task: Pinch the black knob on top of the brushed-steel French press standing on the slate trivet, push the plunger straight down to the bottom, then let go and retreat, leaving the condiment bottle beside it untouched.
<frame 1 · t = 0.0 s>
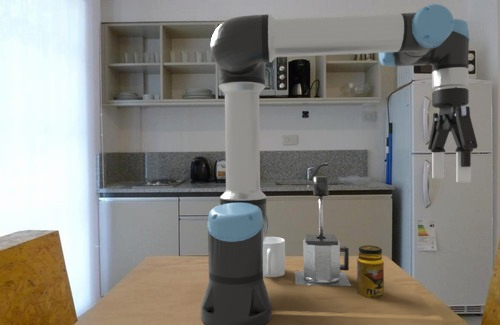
hand: (449, 180, 87), 28 cm above the table, fingers open, 13 cm apart
carafe: (321, 278, 100), resting on trivet
condiment: (366, 297, 89), on the table
trivet: (321, 280, 100), on the table
plunger: (320, 211, 99), point 19 cm above the table, slide at 0.0 cm
cup: (270, 278, 103), on the table
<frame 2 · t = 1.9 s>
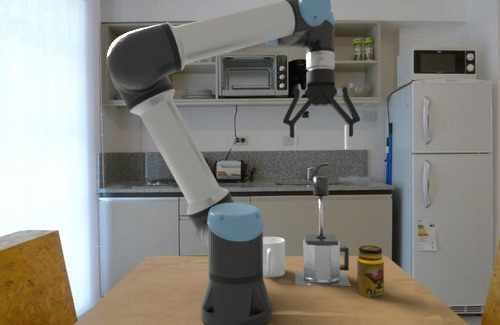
hand: (321, 149, 99), 36 cm above the table, fingers open, 13 cm apart
nothing on the table moved.
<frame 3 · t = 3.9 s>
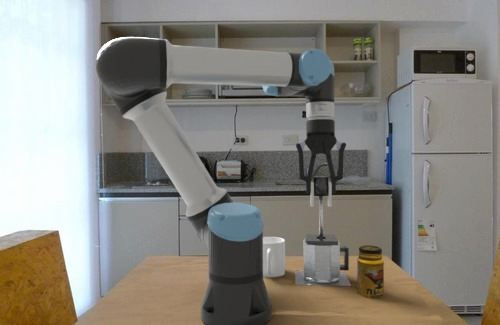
hand: (320, 205, 99), 20 cm above the table, fingers closed on plunger, 4 cm apart
plunger: (320, 211, 99), point 19 cm above the table, slide at 0.0 cm, touching gripper
everything else where it was.
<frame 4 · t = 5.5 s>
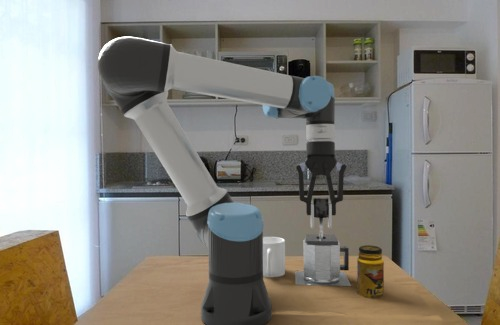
hand: (321, 227, 100), 15 cm above the table, fingers closed on plunger, 4 cm apart
plunger: (321, 233, 100), point 13 cm above the table, slide at 5.8 cm, touching gripper
everything else where it was.
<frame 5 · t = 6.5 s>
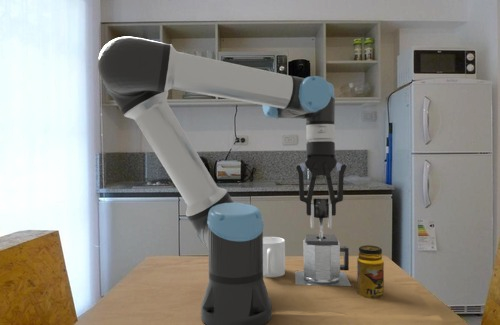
hand: (321, 227, 100), 15 cm above the table, fingers closed on plunger, 4 cm apart
plunger: (321, 233, 100), point 13 cm above the table, slide at 5.8 cm, touching gripper
everything else where it was.
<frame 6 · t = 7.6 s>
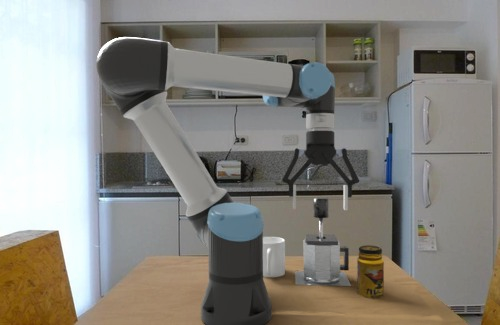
hand: (319, 209, 99), 20 cm above the table, fingers open, 13 cm apart
plunger: (321, 233, 100), point 13 cm above the table, slide at 5.8 cm
everything else where it was.
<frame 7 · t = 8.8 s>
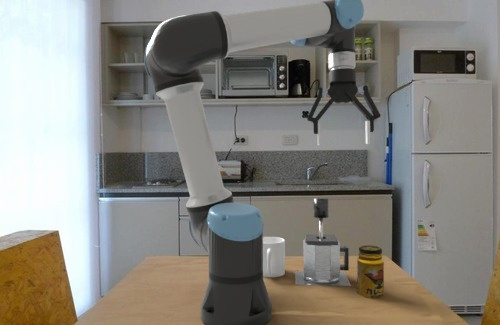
hand: (343, 144, 105), 37 cm above the table, fingers open, 13 cm apart
nothing on the table moved.
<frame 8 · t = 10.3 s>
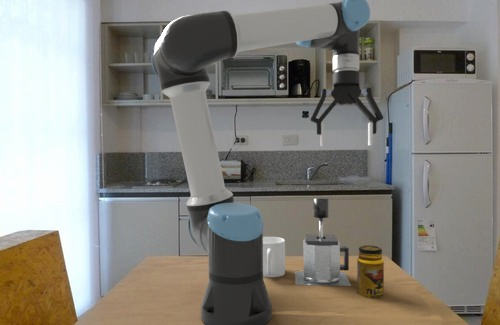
hand: (346, 146, 106), 37 cm above the table, fingers open, 13 cm apart
nothing on the table moved.
at the end: plunger slide at 5.8 cm; the gripper is holding nothing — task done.
